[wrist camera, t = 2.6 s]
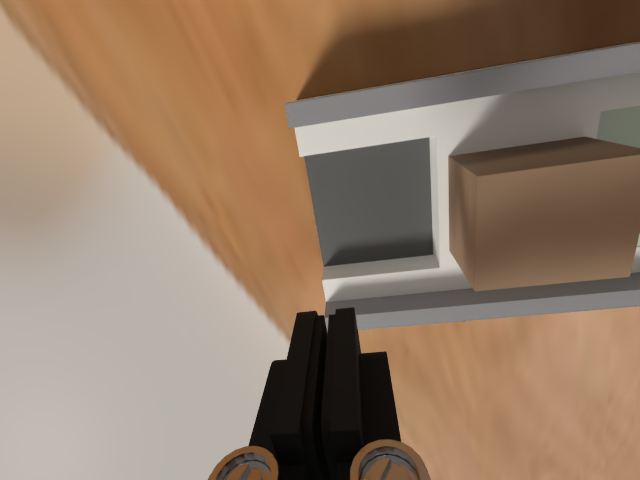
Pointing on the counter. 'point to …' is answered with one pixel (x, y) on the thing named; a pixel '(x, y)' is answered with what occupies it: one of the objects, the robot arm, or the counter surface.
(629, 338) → the counter surface
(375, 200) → the board
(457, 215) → the walnut block
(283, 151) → the counter surface
